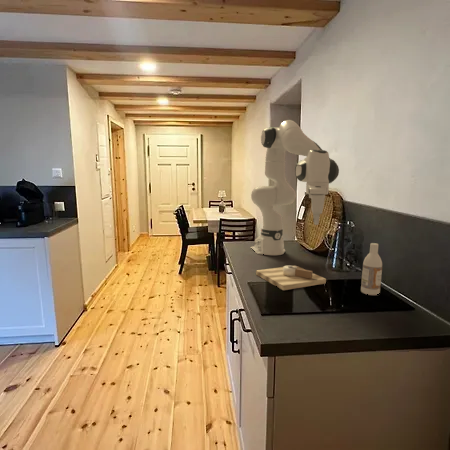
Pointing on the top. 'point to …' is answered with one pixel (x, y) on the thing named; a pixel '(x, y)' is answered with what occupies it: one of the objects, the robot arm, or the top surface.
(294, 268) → the brown and cream block
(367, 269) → the bath foam
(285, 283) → the wooden cutting board
